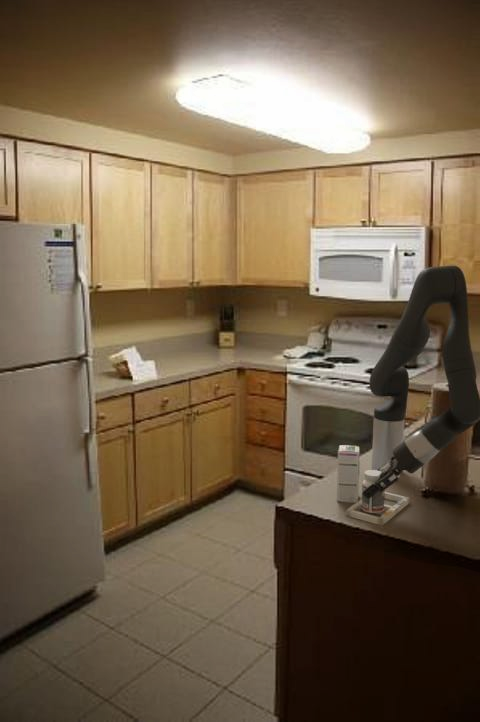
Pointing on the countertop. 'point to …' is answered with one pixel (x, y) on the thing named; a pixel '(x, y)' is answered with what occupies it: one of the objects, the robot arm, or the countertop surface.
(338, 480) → the syrup box
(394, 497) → the plate
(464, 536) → the countertop surface
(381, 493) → the pill bottle
